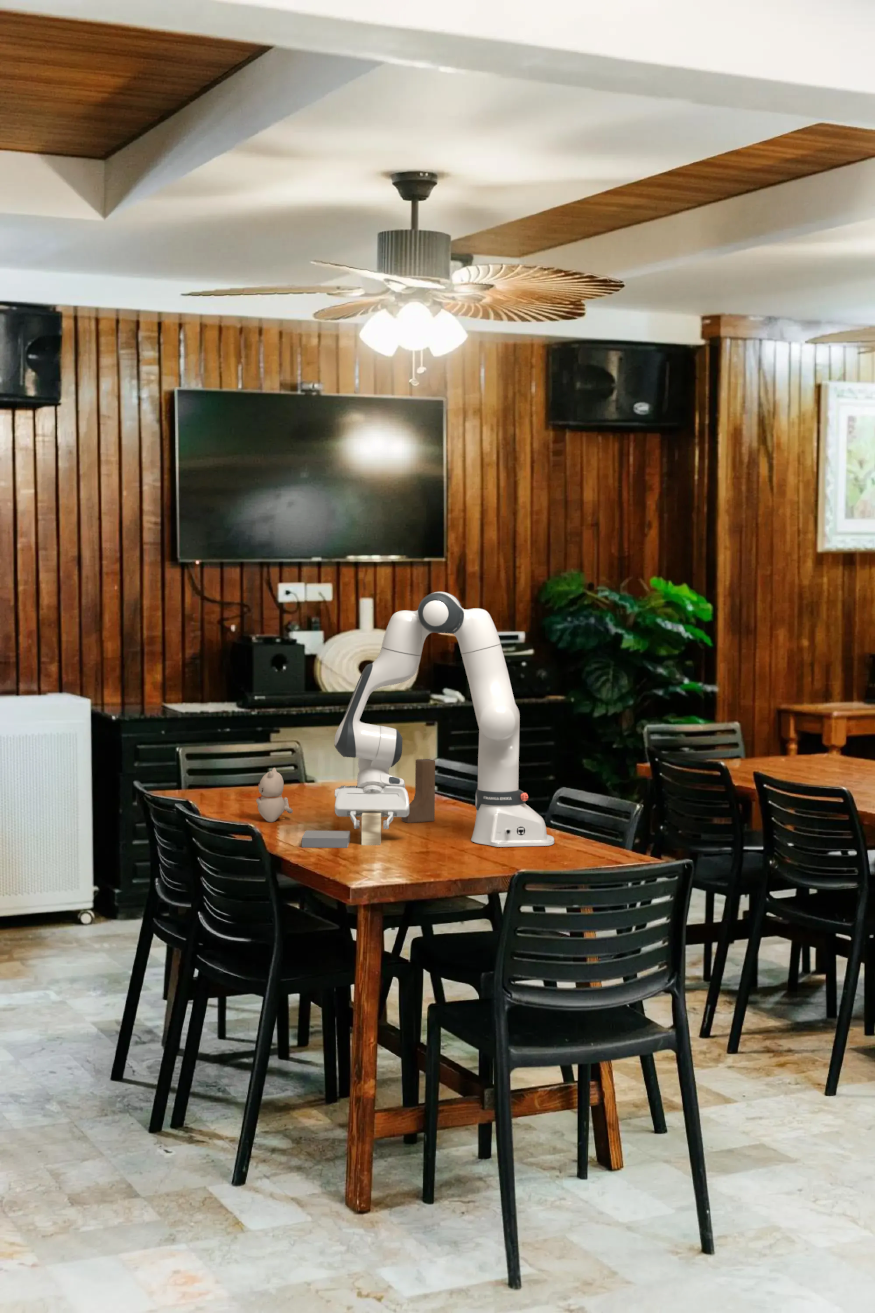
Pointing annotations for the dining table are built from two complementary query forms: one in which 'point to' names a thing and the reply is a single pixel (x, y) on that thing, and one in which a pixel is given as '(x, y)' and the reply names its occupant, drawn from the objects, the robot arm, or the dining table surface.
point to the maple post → (371, 828)
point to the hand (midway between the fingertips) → (371, 827)
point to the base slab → (326, 839)
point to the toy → (272, 796)
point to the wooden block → (423, 793)
